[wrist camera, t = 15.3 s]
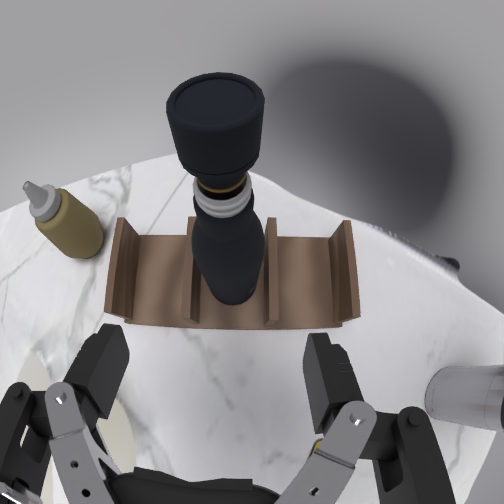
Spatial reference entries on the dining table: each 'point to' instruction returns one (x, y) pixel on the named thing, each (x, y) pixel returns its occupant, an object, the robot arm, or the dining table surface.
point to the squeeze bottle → (65, 220)
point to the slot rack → (257, 306)
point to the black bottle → (221, 177)
